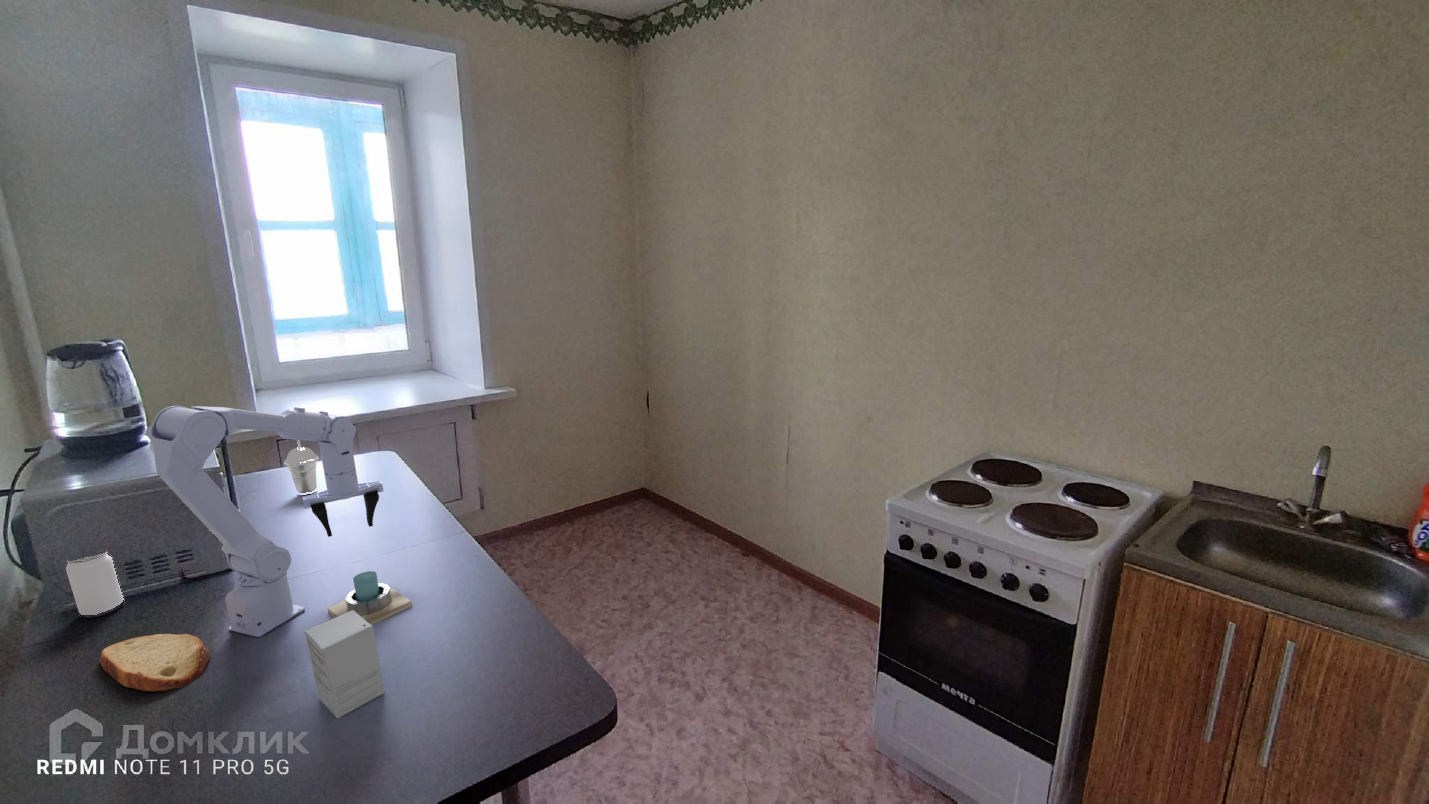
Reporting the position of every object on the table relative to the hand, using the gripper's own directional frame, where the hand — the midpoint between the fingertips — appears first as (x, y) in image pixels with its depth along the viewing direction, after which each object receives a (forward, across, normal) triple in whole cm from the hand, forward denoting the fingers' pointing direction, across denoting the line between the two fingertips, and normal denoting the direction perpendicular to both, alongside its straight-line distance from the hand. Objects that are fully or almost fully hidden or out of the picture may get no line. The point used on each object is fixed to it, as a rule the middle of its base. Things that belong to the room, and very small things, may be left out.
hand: (350, 529), depth 133 cm
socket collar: (+10, 0, -17) cm, 20 cm away
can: (+11, -42, +15) cm, 46 cm away
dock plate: (+10, 0, -17) cm, 20 cm away
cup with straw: (+11, -4, +60) cm, 61 cm away
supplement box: (+11, -7, -43) cm, 44 cm away
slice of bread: (+11, -33, -13) cm, 37 cm away
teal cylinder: (+9, 0, -17) cm, 19 cm away
